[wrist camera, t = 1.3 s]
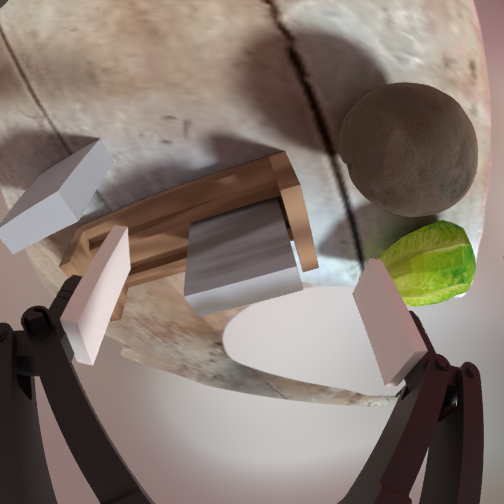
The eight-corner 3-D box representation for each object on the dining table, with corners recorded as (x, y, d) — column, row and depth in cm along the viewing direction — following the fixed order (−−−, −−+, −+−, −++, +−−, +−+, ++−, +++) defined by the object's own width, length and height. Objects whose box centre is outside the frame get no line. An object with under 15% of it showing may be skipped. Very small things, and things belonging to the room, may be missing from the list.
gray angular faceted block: (39, 174, 32) (-6, 231, 23) (100, 138, 30) (57, 191, 22) (52, 194, 34) (13, 254, 25) (113, 161, 33) (78, 221, 24)
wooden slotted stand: (78, 227, 38) (43, 303, 28) (285, 151, 34) (316, 222, 24) (120, 281, 46) (103, 356, 36) (304, 227, 42) (331, 307, 32)
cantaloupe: (399, 180, 38) (457, 253, 27) (307, 158, 35) (350, 238, 24) (436, 91, 29) (519, 141, 18) (341, 49, 26) (419, 75, 15)
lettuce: (350, 220, 42) (381, 281, 33) (457, 199, 41) (499, 247, 32) (347, 282, 51) (368, 340, 43) (441, 258, 50) (470, 306, 41)
